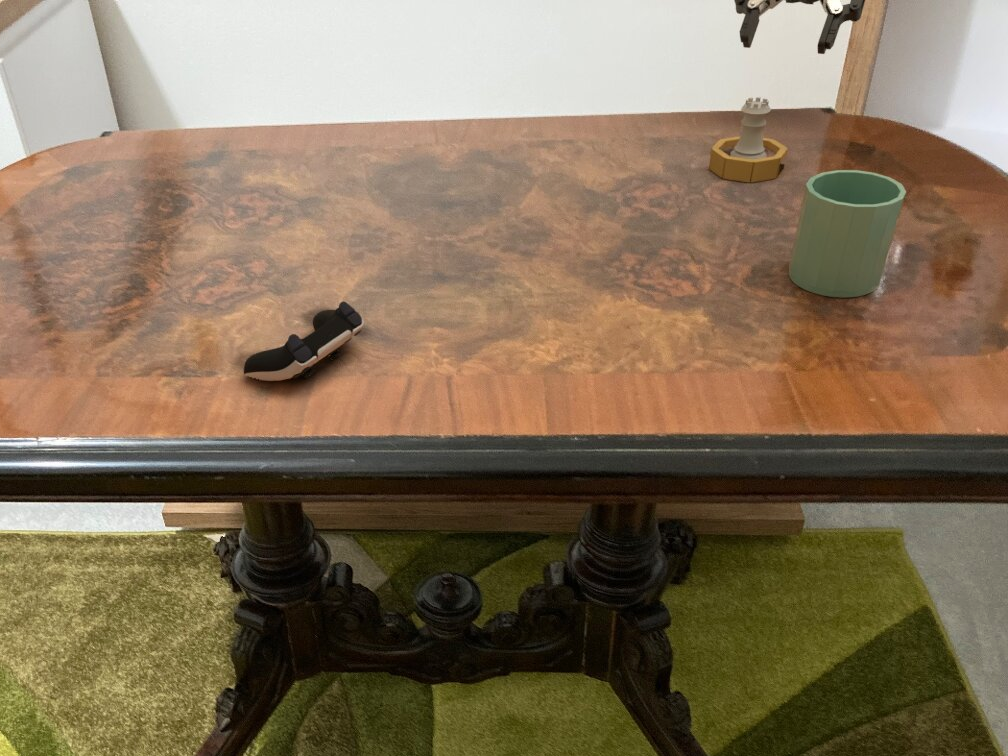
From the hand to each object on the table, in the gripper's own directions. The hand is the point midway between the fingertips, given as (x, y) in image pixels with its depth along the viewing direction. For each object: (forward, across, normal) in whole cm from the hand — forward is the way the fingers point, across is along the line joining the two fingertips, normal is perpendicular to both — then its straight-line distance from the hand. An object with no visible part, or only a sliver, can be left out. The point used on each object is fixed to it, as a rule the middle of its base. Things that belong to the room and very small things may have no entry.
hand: (782, 47), depth 108 cm
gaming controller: (+55, +22, +38) cm, 71 cm away
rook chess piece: (+14, 0, -3) cm, 14 cm away
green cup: (+30, -15, +14) cm, 36 cm away
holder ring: (+14, 0, -3) cm, 14 cm away
